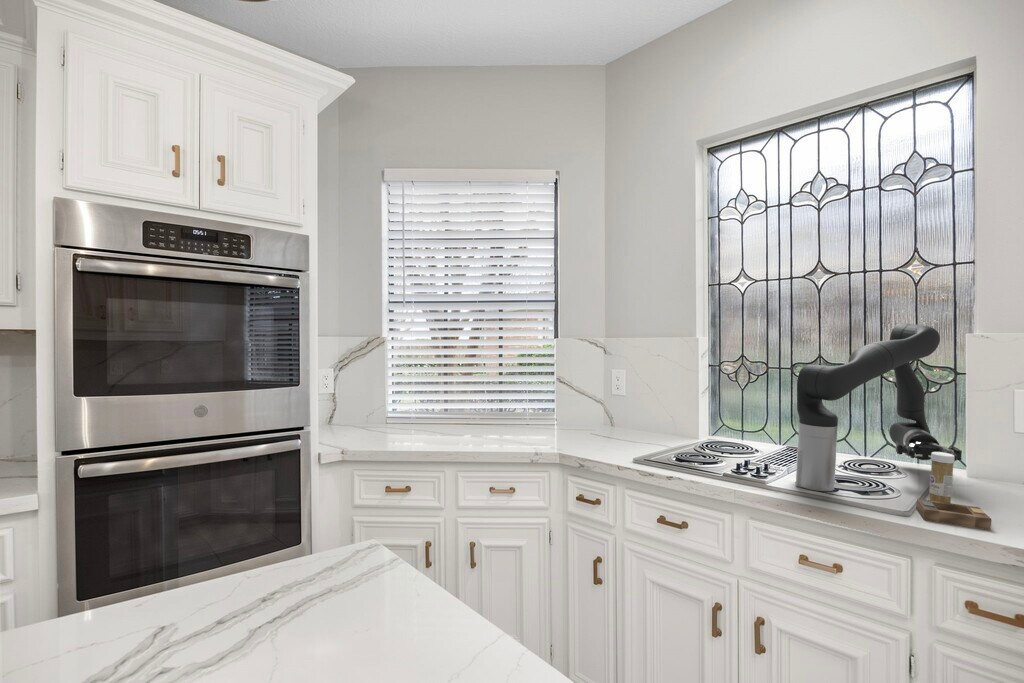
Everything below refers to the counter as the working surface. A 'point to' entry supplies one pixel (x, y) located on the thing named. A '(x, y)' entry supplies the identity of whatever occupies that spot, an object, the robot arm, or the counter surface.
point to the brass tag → (977, 511)
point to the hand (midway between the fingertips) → (932, 456)
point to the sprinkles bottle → (941, 477)
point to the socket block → (953, 514)
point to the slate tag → (927, 504)
